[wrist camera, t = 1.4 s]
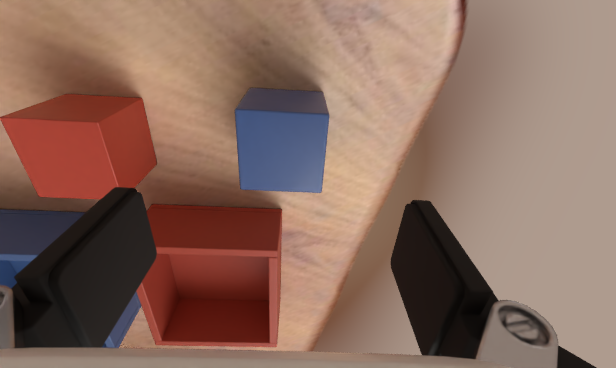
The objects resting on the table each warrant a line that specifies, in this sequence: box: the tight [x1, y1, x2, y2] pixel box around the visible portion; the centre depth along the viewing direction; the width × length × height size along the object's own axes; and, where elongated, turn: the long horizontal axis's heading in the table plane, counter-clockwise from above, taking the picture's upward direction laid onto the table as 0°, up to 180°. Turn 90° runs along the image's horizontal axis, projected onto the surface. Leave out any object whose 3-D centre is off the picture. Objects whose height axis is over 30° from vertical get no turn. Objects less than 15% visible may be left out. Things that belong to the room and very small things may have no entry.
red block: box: [0, 94, 157, 199], centre depth 17 cm, size 4×4×4 cm
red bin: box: [136, 204, 282, 347], centre depth 23 cm, size 11×10×4 cm
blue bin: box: [0, 209, 141, 348], centre depth 23 cm, size 11×10×4 cm
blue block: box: [235, 88, 329, 193], centre depth 17 cm, size 4×4×4 cm
